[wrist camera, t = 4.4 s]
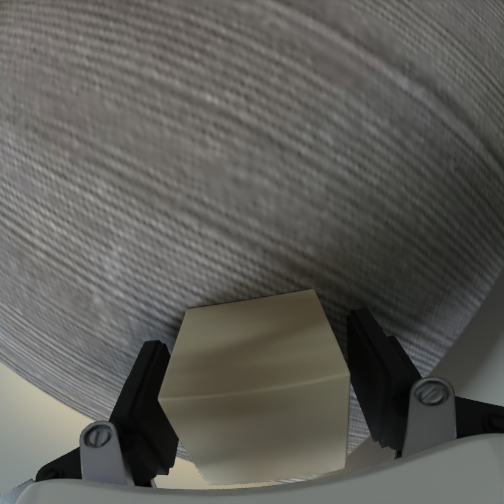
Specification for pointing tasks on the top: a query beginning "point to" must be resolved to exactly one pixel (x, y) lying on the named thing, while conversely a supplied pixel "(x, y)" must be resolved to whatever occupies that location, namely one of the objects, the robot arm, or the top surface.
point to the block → (259, 390)
